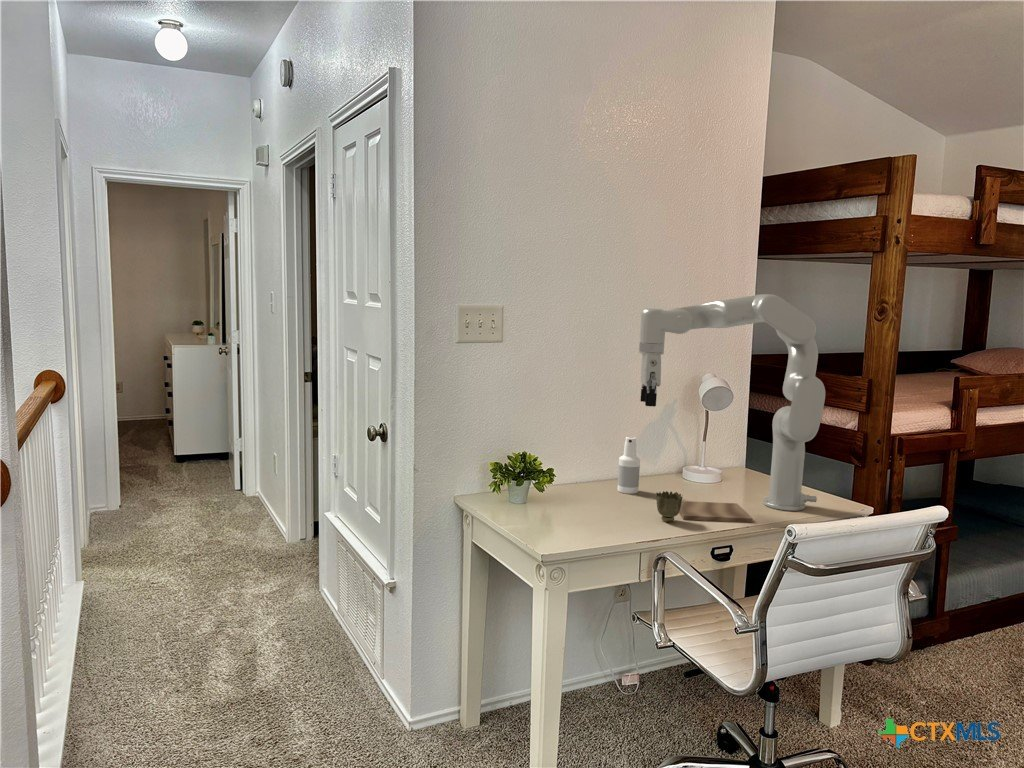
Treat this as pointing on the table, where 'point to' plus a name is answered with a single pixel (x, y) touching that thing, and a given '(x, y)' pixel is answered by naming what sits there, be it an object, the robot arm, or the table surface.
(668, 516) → the cup
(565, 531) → the table surface
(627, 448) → the spray bottle
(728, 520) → the walnut board
